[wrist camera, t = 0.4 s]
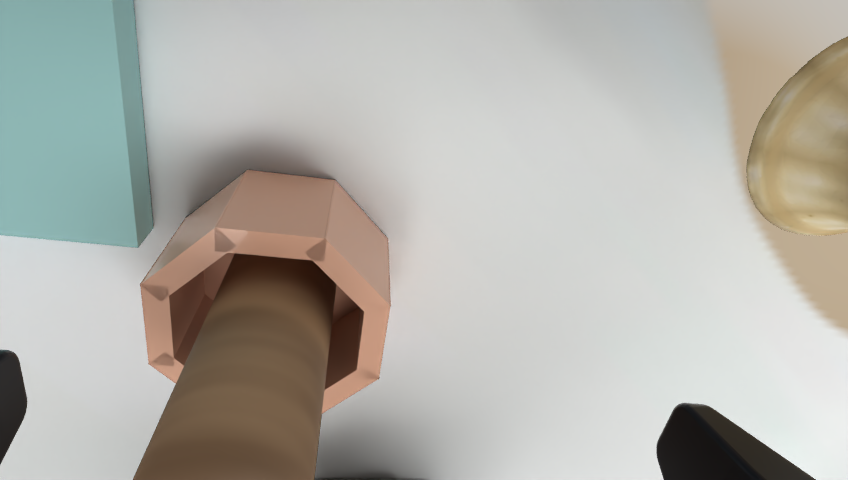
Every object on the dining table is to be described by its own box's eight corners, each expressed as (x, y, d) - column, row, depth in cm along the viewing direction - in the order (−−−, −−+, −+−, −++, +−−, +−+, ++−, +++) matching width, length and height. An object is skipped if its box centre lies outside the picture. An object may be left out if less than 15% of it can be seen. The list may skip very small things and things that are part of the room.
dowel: (333, 319, 22) (305, 567, 13) (231, 311, 21) (133, 565, 13) (341, 233, 20) (315, 457, 11) (230, 222, 20) (114, 448, 11)
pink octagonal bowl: (372, 344, 24) (372, 424, 20) (191, 331, 23) (153, 413, 19) (395, 186, 20) (400, 245, 16) (182, 161, 19) (132, 218, 15)
